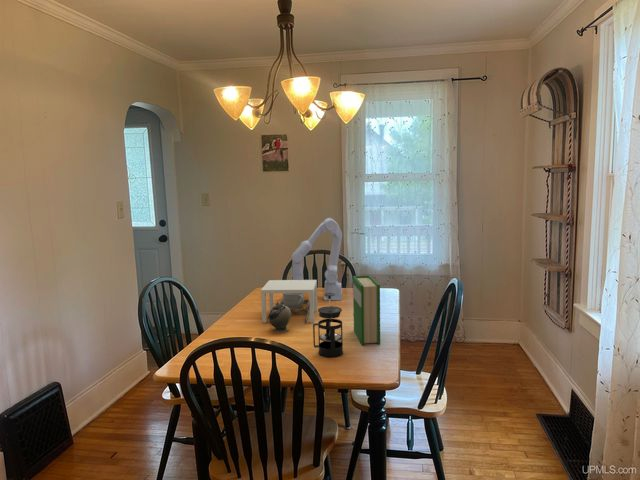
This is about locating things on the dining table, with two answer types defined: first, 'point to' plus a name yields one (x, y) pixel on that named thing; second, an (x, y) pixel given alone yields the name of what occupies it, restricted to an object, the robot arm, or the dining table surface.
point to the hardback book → (366, 309)
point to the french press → (329, 331)
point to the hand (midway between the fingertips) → (298, 298)
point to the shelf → (290, 287)
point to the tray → (300, 311)
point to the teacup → (293, 300)
